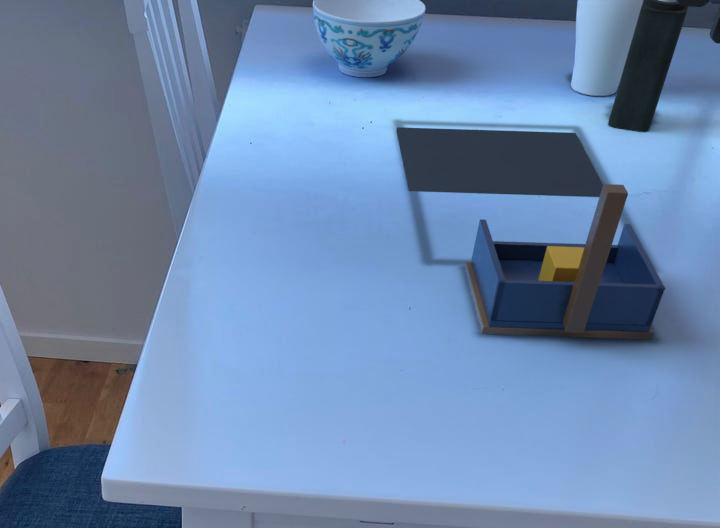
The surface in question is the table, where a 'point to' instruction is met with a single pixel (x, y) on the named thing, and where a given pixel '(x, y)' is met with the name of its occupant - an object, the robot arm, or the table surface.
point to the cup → (602, 44)
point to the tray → (571, 299)
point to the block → (560, 263)
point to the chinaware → (367, 32)
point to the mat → (497, 162)
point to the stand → (538, 331)
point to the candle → (647, 64)
